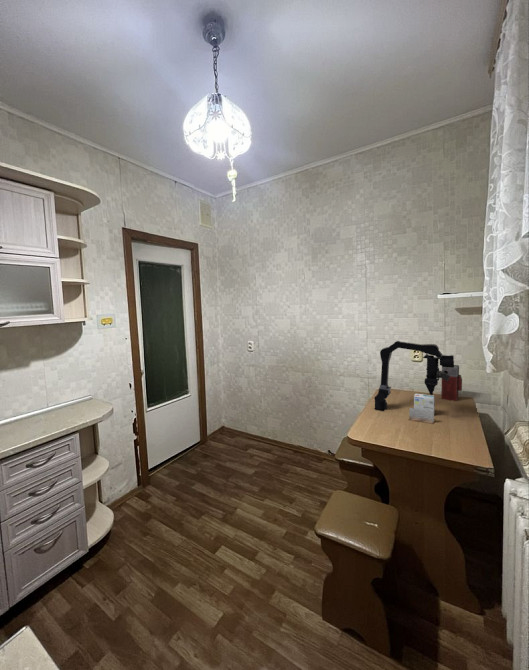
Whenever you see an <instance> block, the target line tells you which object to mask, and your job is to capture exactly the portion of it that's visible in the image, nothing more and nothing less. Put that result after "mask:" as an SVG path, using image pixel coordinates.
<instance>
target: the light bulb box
mask: <svg viewBox="0 0 529 670" xmlns="http://www.w3.org/2000/svg"><path fill="white" fill-rule="evenodd" d="M435 407H436V404H435V395H434V394H433V395H430V394H423V393H421V394H420V393H414V395H413V408H415V409H421V410H428V411H434V412H435V409H436V408H435Z"/></svg>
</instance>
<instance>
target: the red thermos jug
mask: <svg viewBox="0 0 529 670" xmlns="http://www.w3.org/2000/svg"><path fill="white" fill-rule="evenodd" d="M445 370H446V371H448V374H450V377H449V379H448V381H446V380H444V379H442V378H441V391H440V392H441V394H440V395H441V397H440V398H441V400H446V401H447V400H448V401H452V400H453V402H458V400H459V392H462V391H463V378H462V375H461V374H460V366H459V365H458V364H454V368H450V367H442V366H441V371H445Z"/></svg>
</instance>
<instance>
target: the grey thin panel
mask: <svg viewBox="0 0 529 670" xmlns="http://www.w3.org/2000/svg"><path fill="white" fill-rule="evenodd" d="M408 409H409V411H408V413H409V418H415V419H421V420H427V421H433V422H434V423H435V410H434V411H428V410H421V409H415V408H414V407H409V408H408ZM409 418H408V419H409Z"/></svg>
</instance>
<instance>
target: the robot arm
mask: <svg viewBox="0 0 529 670" xmlns="http://www.w3.org/2000/svg"><path fill="white" fill-rule="evenodd" d="M398 349H404V350H411V351H416V352H417V351H418V352H421V353H424V354H425V355H424V356H423V357H422V358H423V359H426V368H425V369H426V375H425V376H426V377H425V379H424V385H425V387H426V388H427V391H428V393H429V395H434V392H435V389H436V386H438V384H439V380H440V379H441V380H442V379H444V380H446V381H448V379H449V377H450V374H448V371H446V370H445V371H442V370H440V368H439V365H440V366H441V368H442V367H450V368H454V365H455V360H454V359H455V357H454V355H452V354H451V355H447V354H446V355H444V354H443V353H442V351H440V347H439V346H438V344H434V343H425V344H424V343H423V344H419V343H413V342H405V341H400V340H396V341H395V342H394V343H392V344H391V345H390V346H386V347H384V348H381V349H380V352H379V355H380V360H381V374H380V376H381V377H380V385H379V388H378V392H377V394H376V395H375V396H374V397H373V399H374V407H373V410H374V409H375V411H380V412H385V410H387V409H388V402H387V398H388V397H389V395H390V394H392V390H391V389H392V386H389V371H390V370H389V369H390V361H391V358H392V355H393V352H394V351H396V350H398Z"/></svg>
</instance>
